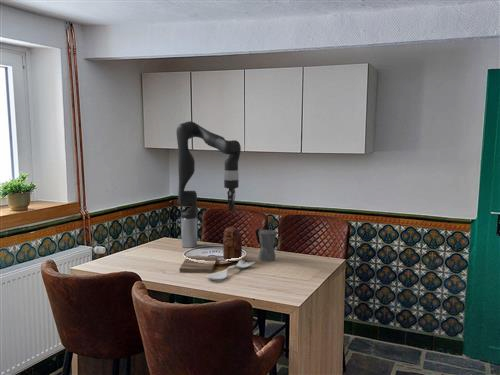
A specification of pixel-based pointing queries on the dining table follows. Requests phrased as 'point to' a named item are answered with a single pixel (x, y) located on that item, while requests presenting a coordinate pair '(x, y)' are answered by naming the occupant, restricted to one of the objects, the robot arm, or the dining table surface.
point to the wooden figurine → (232, 243)
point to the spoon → (224, 273)
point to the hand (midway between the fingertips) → (231, 209)
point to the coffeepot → (266, 244)
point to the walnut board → (198, 264)
